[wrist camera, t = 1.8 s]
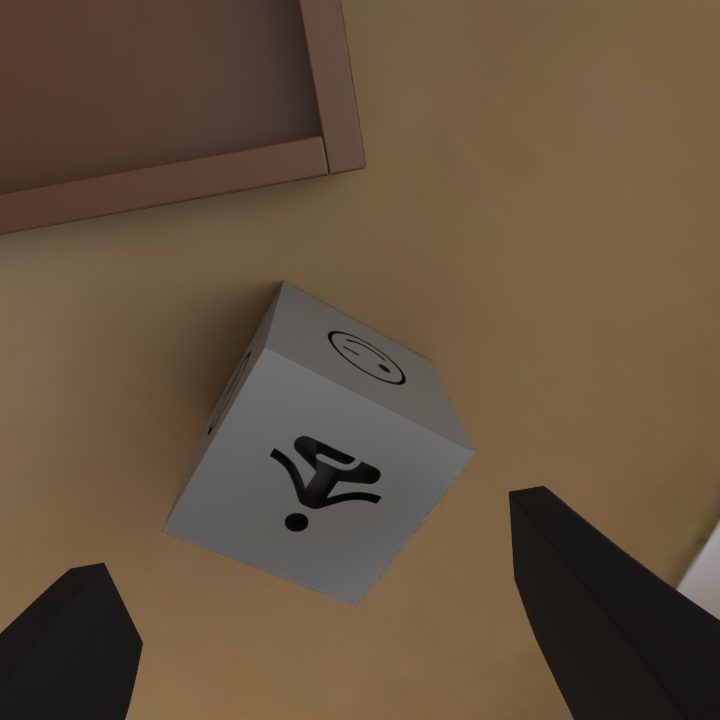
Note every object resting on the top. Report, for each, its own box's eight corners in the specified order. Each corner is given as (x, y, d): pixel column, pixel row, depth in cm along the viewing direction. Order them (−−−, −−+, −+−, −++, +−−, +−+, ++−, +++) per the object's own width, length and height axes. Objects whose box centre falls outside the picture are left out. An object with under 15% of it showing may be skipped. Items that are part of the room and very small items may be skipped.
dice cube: (431, 361, 16) (475, 453, 11) (347, 482, 17) (356, 606, 13) (283, 281, 14) (264, 347, 10) (207, 419, 16) (161, 531, 11)
